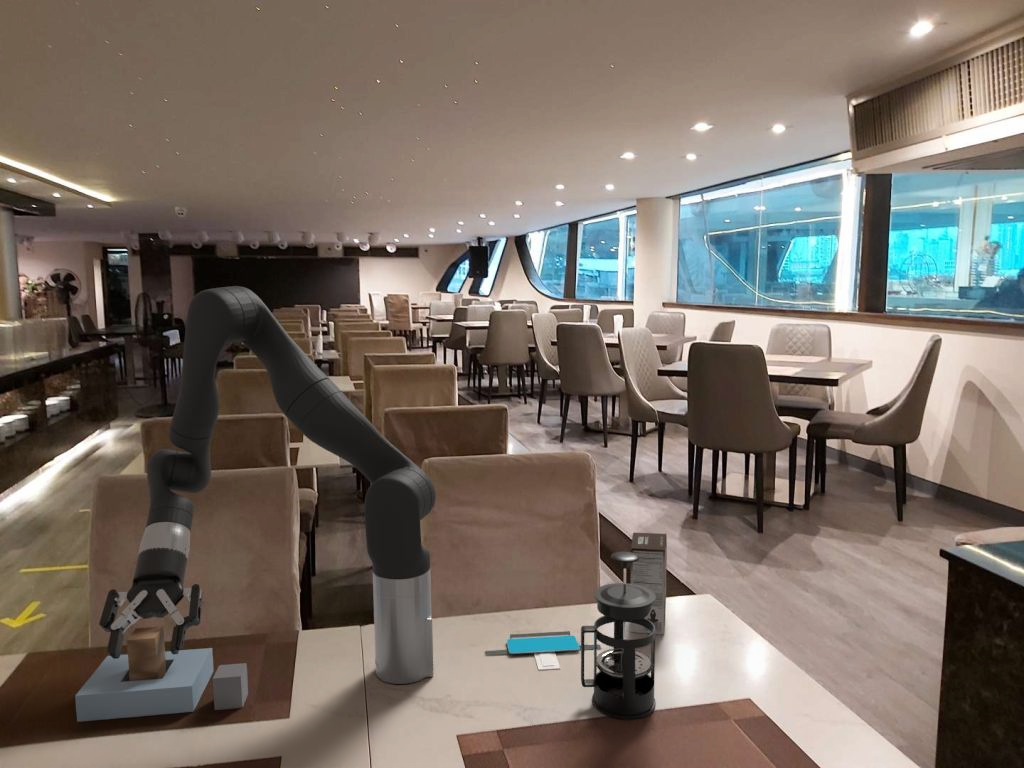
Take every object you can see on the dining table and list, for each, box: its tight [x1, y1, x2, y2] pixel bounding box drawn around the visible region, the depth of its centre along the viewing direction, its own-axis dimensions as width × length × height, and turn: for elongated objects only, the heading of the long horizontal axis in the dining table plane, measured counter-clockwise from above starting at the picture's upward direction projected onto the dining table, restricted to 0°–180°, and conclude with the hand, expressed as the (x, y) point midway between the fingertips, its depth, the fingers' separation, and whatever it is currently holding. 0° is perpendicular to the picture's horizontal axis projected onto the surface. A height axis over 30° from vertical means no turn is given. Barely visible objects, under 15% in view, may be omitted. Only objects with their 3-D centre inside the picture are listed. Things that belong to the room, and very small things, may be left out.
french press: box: [580, 551, 657, 721], centre depth 109 cm, size 12×9×23 cm
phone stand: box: [485, 630, 602, 672], centre depth 126 cm, size 20×12×2 cm, turn 96°
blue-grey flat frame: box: [74, 647, 215, 723], centre depth 113 cm, size 16×12×4 cm
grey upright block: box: [212, 662, 249, 711], centre depth 111 cm, size 4×4×5 cm
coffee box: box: [629, 532, 668, 636], centre depth 136 cm, size 9×6×16 cm
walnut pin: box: [126, 625, 166, 681], centre depth 113 cm, size 4×4×10 cm
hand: (144, 654), depth 111 cm, fingers open, 8 cm apart
